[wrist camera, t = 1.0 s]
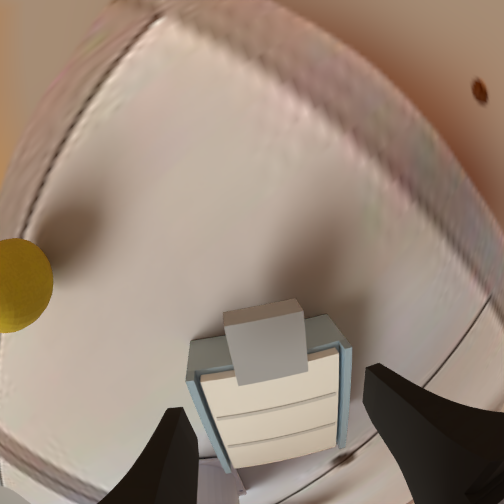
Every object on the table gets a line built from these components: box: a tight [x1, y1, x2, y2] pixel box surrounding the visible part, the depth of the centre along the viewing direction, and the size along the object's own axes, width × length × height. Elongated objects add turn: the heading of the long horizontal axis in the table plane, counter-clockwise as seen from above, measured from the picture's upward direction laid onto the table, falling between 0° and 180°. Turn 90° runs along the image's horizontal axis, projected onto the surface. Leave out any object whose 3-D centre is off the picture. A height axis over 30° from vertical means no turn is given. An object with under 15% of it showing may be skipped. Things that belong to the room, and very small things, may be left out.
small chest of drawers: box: [200, 298, 339, 469], centre depth 17 cm, size 14×8×2 cm, turn 9°
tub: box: [186, 314, 352, 474], centre depth 19 cm, size 11×10×5 cm
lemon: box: [0, 238, 53, 333], centre depth 13 cm, size 6×6×8 cm
